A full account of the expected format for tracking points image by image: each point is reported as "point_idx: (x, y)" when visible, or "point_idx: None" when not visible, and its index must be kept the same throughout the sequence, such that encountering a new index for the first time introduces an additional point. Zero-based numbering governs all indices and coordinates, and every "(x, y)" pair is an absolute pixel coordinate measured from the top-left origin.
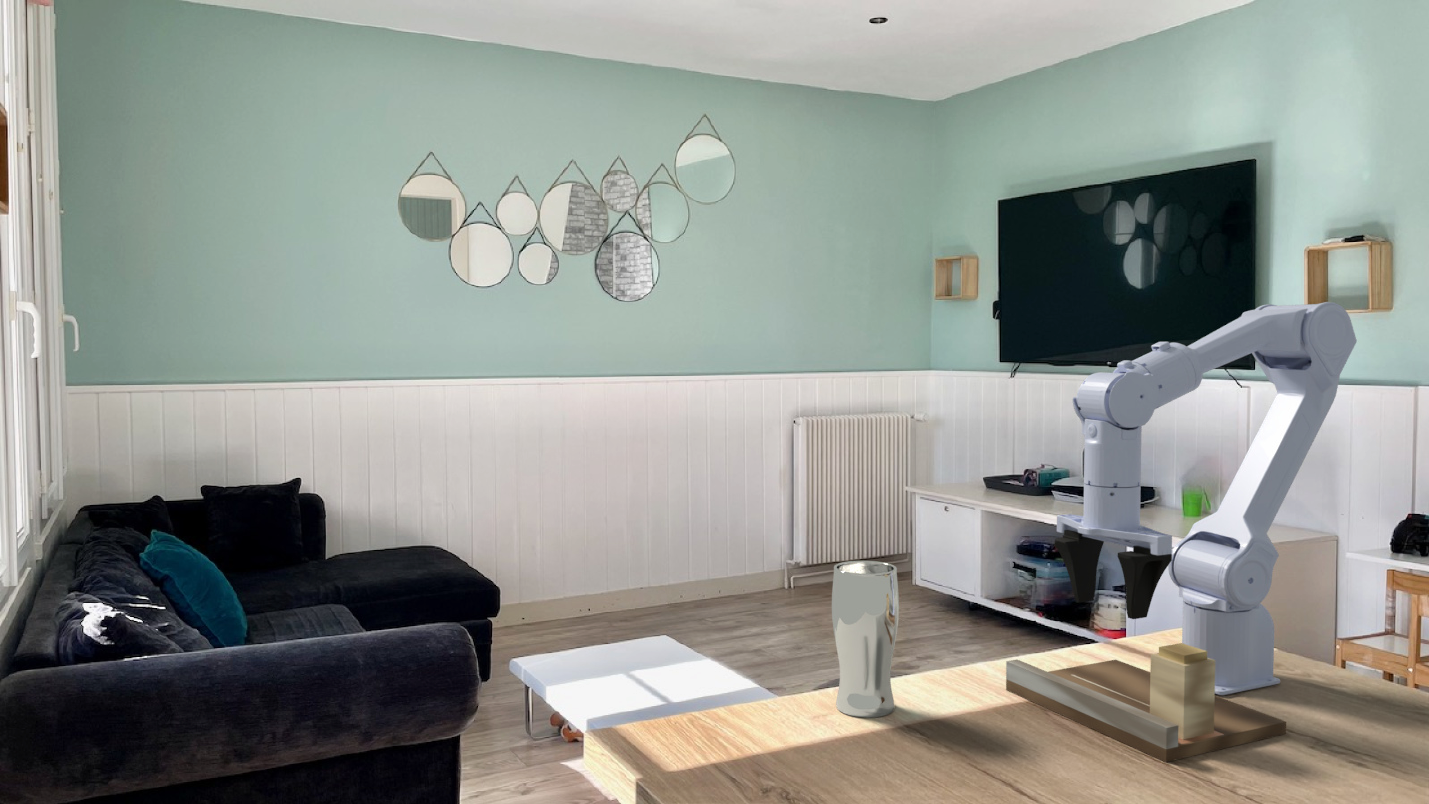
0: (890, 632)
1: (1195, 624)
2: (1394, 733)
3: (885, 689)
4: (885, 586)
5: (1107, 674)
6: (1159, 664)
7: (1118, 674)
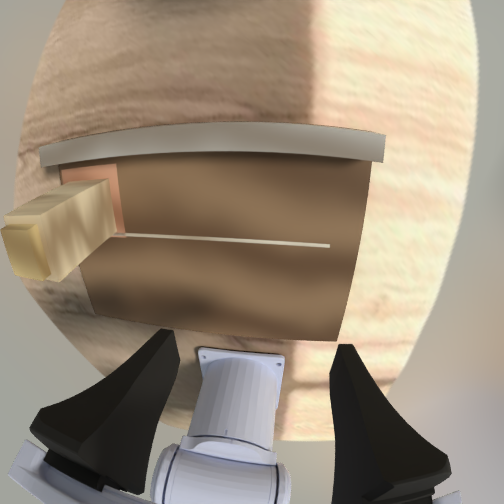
0: None
1: (227, 415)
2: (97, 360)
3: None
4: None
5: (299, 290)
6: (36, 210)
7: (290, 302)
